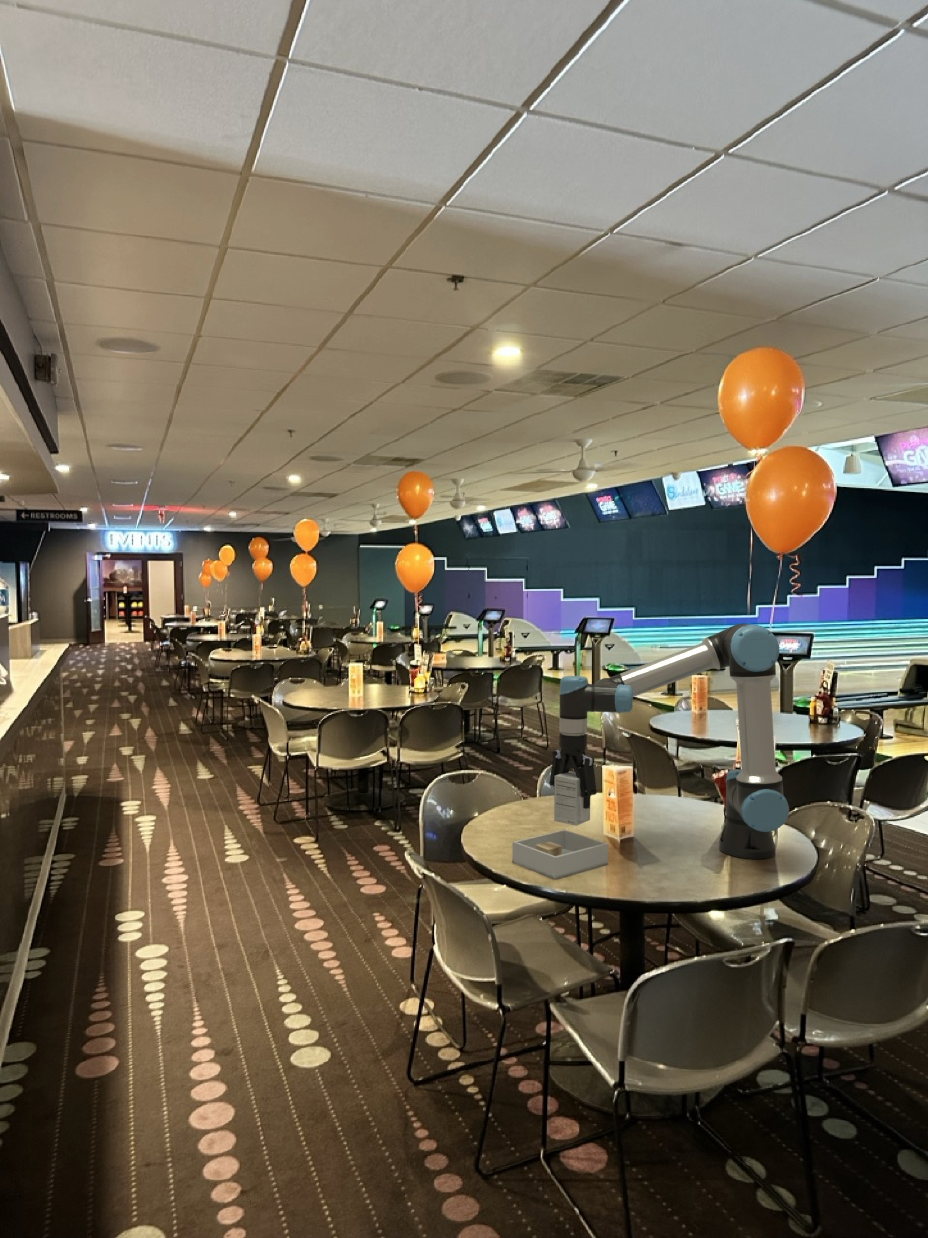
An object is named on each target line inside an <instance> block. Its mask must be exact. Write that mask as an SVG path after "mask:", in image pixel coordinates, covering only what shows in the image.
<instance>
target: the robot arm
mask: <svg viewBox="0 0 928 1238" xmlns="http://www.w3.org/2000/svg"><path fill="white" fill-rule="evenodd" d="M779 655H780V643H779V641H778V639H777V637H776V636H775V635H774V634H773V633H772V631H770V630H769V629H768V628H766V627H764V626H761V625H758V624H749V623H737V624H734V625H733V626H730V627H727V628H726V629H723V630H722V631H719V632H717V633H715V634H712V635H710V636H707V637H705V638H704V640H703V642H701V643H698V644H696V645H693V646H690V647H689V648H686V649H683V650H680V651H677V652H674V653H672V654H669V655H667V656H664V657H661V658H659V659H656V660H652V661H650V662H647V663H646V664H642V665H640V666H637V667H634V668H632V669H628V670H627V671H624V672H621V673H619V674H616V675H613V676H610V677H604V678H601V679H599V680H598V681H596V682H595V683H589V679H588V678H587V677H586V676H583V675H567V676H566V675H565V676H563V677H562V678H561V679H560V682H559V724H558V726H559V727H558V731H559V732H560V733H559V735H558V746H559V747H560V749H557V750H553V751H552V764H551V769H550V770H551V771H550V776H549V785H550V786H552V787H553V788H554V787H555V775H559V774H563V773H568V772H569V771H570V769H573V772H575V773H576V775H577V778H579V779H580V789H581V793H582V795H580V815H579V820H580V821H584V820H588V819H589V808H590V809H591V797H592V796H595V795H597V784H596V777H595V776H596V775H595V769H594V768H595V767H594V764H595V758H594V757H592V756H591V757H589V756H587V755H586V754H587V753H586V749H587V748H588V734H586V733H587V732H588V712H589V713H615V714H617V713H618V714H621V713H630V712H632V711H633V705H634V704H633V703H634V697H637V696H640V695H643V694H646V693H648V692H651V691H654V690H657V689H658V688H661V687H664V686H667V685H669V684H672V683H673V684H674V683H675V682H678V681H681V680H684V679H686V678H689V677H692V676H695V675H698V674H699V673H703V672H705V671H708V670H711V669H716V670H721V669H724V668H727V667H729V668H728V669H729V677H730V679H732V680H733V681H734V682H735V685H736V686H735V687H736V698H737V700H736V701H737V717H738V719H737V720H738V731H739V732H738V733H739V734H738V735H739V746H740V749H739V750H740V762H741V769H740V768H739V769H730V770H728V771H727V772H726V779H725V783H726V785H725V786H726V787H725V789H726V790H725V791H726V792H725V793H726V794H725V797H726V798H725V823H724V826H723V829H722V832H721V834H720V836H719V837H720V838H719V841H718V849H719V851H720V852H722V853H724V854H726V855H729V856H733V857H737V858H742V859H751V860H760V859H761V860H762V859H763V860H764V859H770V858H772V857H774V856H775V855H776V843H775V841H774V837H773V834H772V832H773V831H776V830H778V829H780V828H781V827H782V826H783V825H784V824H785V823H786V822H787V820H788V818H789V813H790V807H789V804H788V801H787V798H786V796H784V784H783V776H782V775H781V774H779V773H778V772H777V768H776V755H775V753H776V752H775V740H774V739H775V735H774V721H773V720H774V719H773V703H772V688H771V686H772V685H771V681H772V680H773V679H774V678H775V677H776V676H777V669H776V667H777V666H776V662H777V660H778V659H779ZM586 791H587V792H586Z"/></svg>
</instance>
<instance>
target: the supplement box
mask: <svg viewBox="0 0 928 1238" xmlns="http://www.w3.org/2000/svg"><path fill="white" fill-rule="evenodd" d="M553 788H554V801H553V803H554V804H553V809H554V811H553V813H554V814H553V816H554V818H553V819H554V822H556V823H557V822H558V823H561V824H567V825H571V826H579V825H581V824H584V823H586V822H589V821H591V807H590V808H589V819H588V820H584V821H580V820H579V815H580V795H582V793H581V789H580V779H579V778H577V775H576V773H575V772H574V771H570V770H569V772H568V773H563V774H559V775H555V787H554V786H553ZM586 792H587V791H586Z"/></svg>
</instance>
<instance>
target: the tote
mask: <svg viewBox="0 0 928 1238" xmlns="http://www.w3.org/2000/svg"><path fill="white" fill-rule="evenodd" d="M546 842H552V843H554V844H557V845H560V846H562V855H559V856H553V855H550V854H548V853H545V852H542V851H539V850H537V849H535V845H538V844H542V843H546ZM511 848H512V853H511V855H512V861H511V863H512V864H515V865H518V866H521V867H523V868H524V869H528V870H530V871H532V872H535V873H538V874H539V875H542V876H545V877H548V878H549V879H550V878H551V879H553V880H559V879H562V878H565V877H570V876H572V875H577V874H579V873H583V872H586V871H589V870H593V869H596V868H600V867H604V866H608V865H609V843H608V842H604V841H603V840H602V841H601V840H598V839H594V838H591V837H588V836H586V835H583V834H579V833H577V832H574V831H571V830H567V829H561V830H557V831H553V832H548V833H545V834H540V835H539V834H538V835H536V836H532V837H527V838H523V839H519V840H516V841H514V840H513V841H512V846H511Z"/></svg>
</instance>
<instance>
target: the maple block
mask: <svg viewBox="0 0 928 1238" xmlns="http://www.w3.org/2000/svg"><path fill="white" fill-rule="evenodd" d="M535 849H537V850H539V851H542V852H545V853H548V854H550V855H553V856H559V855H562V846H560V845H557V844H554V843H552V842H546V843H542V844H538V845H535Z"/></svg>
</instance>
